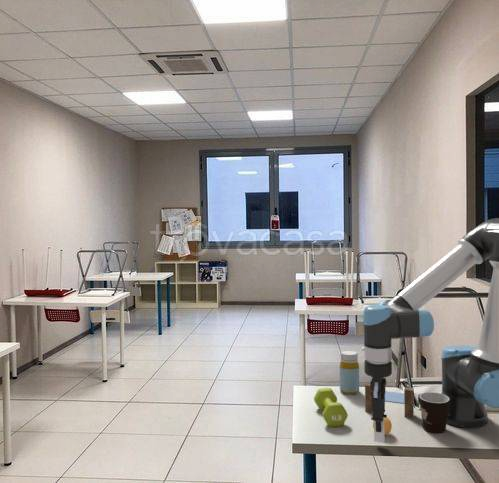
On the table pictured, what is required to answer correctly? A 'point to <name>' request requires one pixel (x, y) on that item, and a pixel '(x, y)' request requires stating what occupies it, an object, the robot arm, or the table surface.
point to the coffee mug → (434, 411)
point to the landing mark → (394, 397)
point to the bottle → (349, 372)
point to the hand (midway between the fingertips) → (379, 440)
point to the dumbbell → (330, 407)
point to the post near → (409, 401)
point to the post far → (368, 398)
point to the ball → (386, 425)
